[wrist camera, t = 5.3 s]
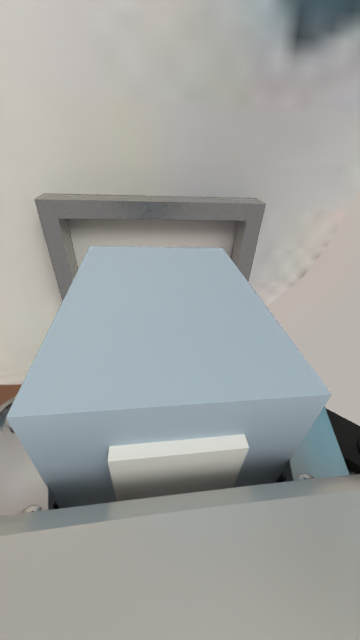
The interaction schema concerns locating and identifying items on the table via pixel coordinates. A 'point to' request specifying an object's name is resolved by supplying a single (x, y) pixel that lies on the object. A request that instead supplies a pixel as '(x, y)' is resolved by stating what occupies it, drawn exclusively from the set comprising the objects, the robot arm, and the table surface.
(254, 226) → the grey rectangular frame
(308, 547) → the robot arm
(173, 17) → the table surface
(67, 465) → the module
